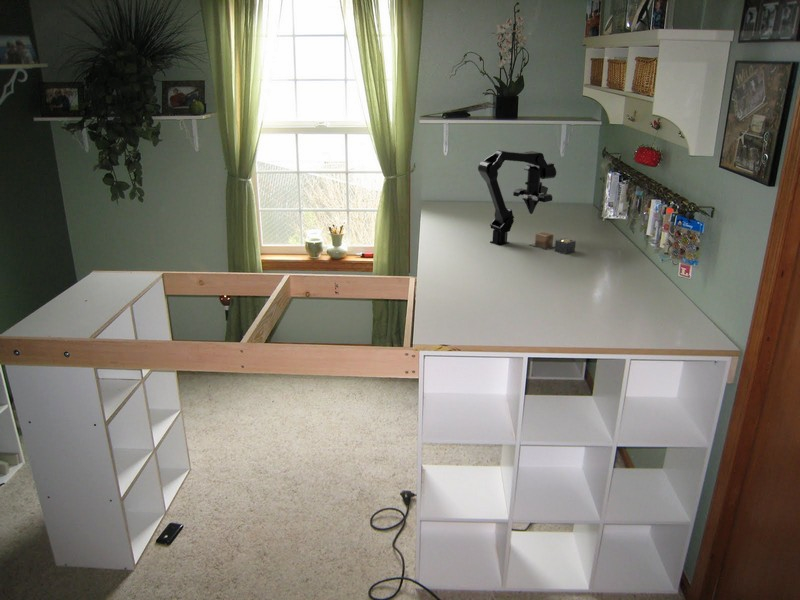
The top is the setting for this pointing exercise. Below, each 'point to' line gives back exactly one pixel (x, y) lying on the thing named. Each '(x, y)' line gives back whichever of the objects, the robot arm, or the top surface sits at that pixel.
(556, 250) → the press block
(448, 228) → the top surface
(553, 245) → the plate
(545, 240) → the light brown cube-like block
